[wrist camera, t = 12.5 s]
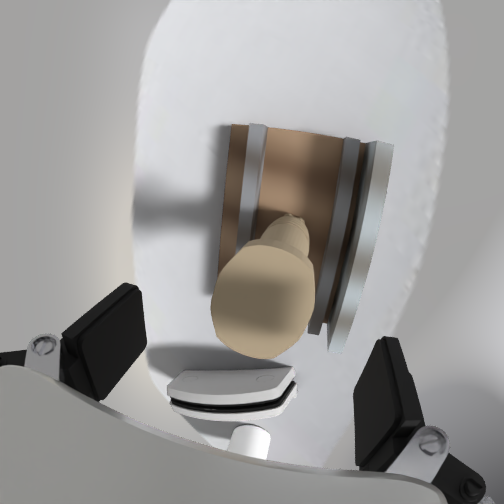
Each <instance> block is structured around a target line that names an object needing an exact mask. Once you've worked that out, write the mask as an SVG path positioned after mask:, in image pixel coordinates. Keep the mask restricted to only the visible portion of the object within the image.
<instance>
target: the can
mask: <svg viewBox="0 0 504 504" xmlns="http://www.w3.org/2000/svg"><path fill="white" fill-rule="evenodd" d="M270 439H271V437H270V435H269V433H268V432H267V431H266V430H265V429H263V428H261V427H259V426H255V425H241V426H239V427H237V428H235V429H234V431H233V434H232V437H231V440H230V442H229V445H228V448H227V451H229V452H233V453H237V454H241V455H245V456H250V457H255V458H259V459H264V460H266V457H267V453H268V448H269V444H270Z"/></svg>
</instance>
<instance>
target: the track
mask: <svg viewBox="0 0 504 504" xmlns="http://www.w3.org/2000/svg"><path fill="white" fill-rule="evenodd" d="M393 149H394V145H392V144H389V143H385V142H381V141H373V142H369V143H361V142H360V140H359V139H354V138H349V137H346V138H344V139H342V138H337V137H331V136H326V135H320V134H314V133H307V132H301V131H294V130H286V129H278V128H269V127H267V126H265V125H263V124H253V123H250V124H249V125H237V124H232V127H231V135H230V144H229V154H228V163H227V173H226V183H225V193H224V204H223V215H222V226H221V238H220V251H219V264H218V276H219V274H220V272H221V271H222V269H223V268H224V267H225V266H226V264H227V263H228V262H229V261H230V260H231V259H232V258H233V257H234V256H235V255H236V253H237V252H238V251H239V250H240V249H241V248H242V247H243V246H244V245H245V244H247V243H248V242H249V241H252V240H256V239H260V238H261V236H262V235H263V233H264V232H265V230H266V229H267V228H268V227H269V225H270V224H272V223H273V222H274V221H275V220H277V219H278V218H280V217H283V216H284V215H285V214H288V213H291V214H292V215H293V216H295V217H301V218H303V220H304V221H305V226H306V227H307V230H308V234H309V253H308V258H309V260H310V261H311V263H312V264H313V269H314V281H315V304H314V310H313V313H312V316H311V318H310V320H309V322H308V333H309V334H315V335H319V333H320V330H321V326H322V323H327V341H328V352H333V353H340V354H342V351H343V349H344V346H345V343H346V340H347V337H348V335H349V332H350V329H351V326H352V323H353V320H354V317H355V314H356V311H357V308H358V304H359V301H360V298H361V295H362V291H363V288H364V285H365V281H366V278H367V274H368V270H369V267H370V263H371V259H372V255H373V252H374V248H375V243H376V239H377V235H378V231H379V226H380V222H381V217H382V213H383V208H384V203H385V198H386V192H387V187H388V181H389V175H390V169H391V163H392V156H393ZM217 279H218V278H217Z"/></svg>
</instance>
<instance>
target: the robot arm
mask: <svg viewBox="0 0 504 504" xmlns="http://www.w3.org/2000/svg"><path fill="white" fill-rule="evenodd" d="M62 337H63V338H62V339H61V340H59V338H58V337H56V336H55V335H52V334H41V335H38V336H36V337H35V338H33V339H32V340H31V341H30V342H29V345H28V347H27V350H21V351H12V352H3V353H0V504H495V503H494V502H493V500H492V499H491V498H490V496H488V497H487V498H486V497H485V496H484V494H485V492H486V485H485V481H484V480H483V478H482V477H481V476H480V475H479V474H478V473H476V472H475V471H473V470H472V469H471V468H469V467H468V466H466V465H465V464H464V463H462V462H461V461H459V460H458V459H457V458H455V457H454V456H452V455H451V454H450V453H449V450H450V440H449V438H448V436H447V434H446V433H445V432H444V431H443V430H442V429H440V428H438V427H436V426H425V422H424V418H423V414H422V410H421V406H420V403H419V399H418V395H417V392H416V388H415V384H414V381H413V378H412V375H411V374H410V373H409V371H408V368H407V365H406V362H405V359H404V355H403V352H402V349H401V346H400V343H399V340H398V338H394V337H386V336H383V337H382V338H381V340H380V339H378V340H377V341H376V343H375V345H374V348H373V350H372V352H371V355H370V357H369V359H368V361H367V363H366V366H365V368H364V370H363V372H362V374H361V376H360V378H359V380H358V382H357V384H356V386H355V389H354V393H353V401H354V422H355V463H356V466H359V471H357V470H340V469H328V468H319V467H310V466H302V465H294V464H288V463H281V462H275V461H270V460H264V459H259V458H255V457H250V456H245V455H241V454H237V453H233V452H229V451H225V450H221V449H218V448H214V447H210V446H207V445H204V444H200V443H197V442H194V441H191V440H188V439H185V438H182V437H179V436H176V435H173V434H170V433H168V432H165V431H162V430H160V429H157V428H155V427H152V426H149V425H147V424H145V423H142V422H140V421H137V420H135V419H133V418H131V417H128V416H126V415H124V414H122V413H120V412H117V411H115V410H113V409H111V408H109V407H107V406H105V405H103V404H101V403H99V401H100V400H104V399H105V398H106V397H107V395H108V394H109V393H110V392H111V390H112V389H113V388H114V387H115V385H116V384H117V383H118V382H119V380H120V379H121V378H122V377H123V375H124V374H125V373H126V372H127V370H128V369H129V368H130V367H131V365H132V364H133V363H134V362H135V360H136V359H137V358H138V357H139V355H140V354H141V353H142V352H143V350H144V349H145V348H146V345H147V337H146V329H145V321H144V312H143V302H142V292H141V291H140V290H139V288H138V286H136V285H132V284H129V283H123V284H122V285H120V286H119V287H118V288H117V289H115V290H114V291H113V292H111V293H110V294H109V295H108V296H106V297H105V298H104V299H103V300H101V301H100V302H99V303H98V304H96V305H95V306H94V307H93V308H91V309H90V310H89V311H88V312H87V313H85V314H84V315H83V316H82V317H81V318H79V319H78V320H77V321H76V322H74V324H72V325H71V326H70V327H68V328H67V330H65V331H64V332H63V333H62Z"/></svg>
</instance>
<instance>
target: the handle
mask: <svg viewBox="0 0 504 504" xmlns="http://www.w3.org/2000/svg"><path fill="white" fill-rule="evenodd" d="M308 253H309V234H308V230H307V227H306V226H305V221H304V220H303V218H301V217H295V216H293V215H292V214H291V213H288V214H285V215H284V216H283V217H280V218H278V219H277V220H275V221H274V222H273V223H272V224H270V225H269V227H268V228H267V229H266V230H265V232H264V233H263V235H262V236H261V238H260V239H256V240H252V241H249V242H248V243H247V244H245V245H244V246H243V247H242V248H241V249H240V250H239V251H238V252H237V253H236V255H235V256H234V257H233V258H232V259H231V260H230V261H229V262H228V263H227V264H226V266H225V267H224V268H223V269H222V271H221V272H220V274H219V276H218V279H217V281H216V284H215V288H214V292H213V296H212V300H211V316H212V320H213V325H214V328H215V332H216V336H217V337H218V338H219V340H220V341H221V342H222V343H224V344H225V345H226V346H227V347H229V348H230V349H232V350H234V351H236V352H238V353H240V354H242V355H246V356H249V357H253V358H258V359H271V358H275V357H276V356H278V355H280V354H281V353H283V352H284V351H286V350H287V349H288V348H290V347H291V346H293V345H294V344H295V343H296V342H297V341H298V340H299V339H300V337H301V336H302V334H303V332H304V330H305V328H306V326H307V324H308V322H309V320H310V318H311V316H312V313H313V310H314V304H315V281H314V269H313V264H312V263H311V261H310V260H309V258H308Z"/></svg>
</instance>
